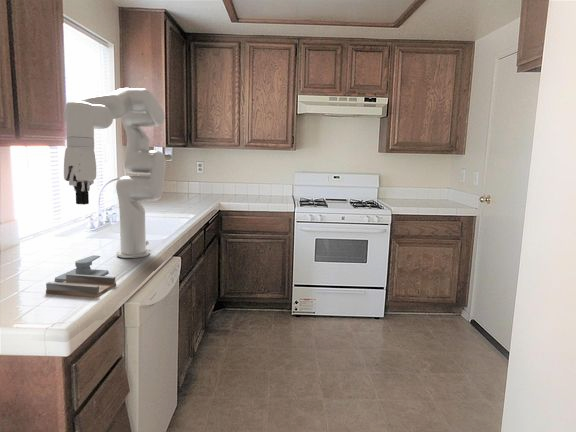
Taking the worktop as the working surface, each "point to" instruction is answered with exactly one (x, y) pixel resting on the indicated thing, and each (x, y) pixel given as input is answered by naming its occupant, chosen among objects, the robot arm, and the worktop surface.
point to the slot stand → (81, 285)
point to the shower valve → (83, 269)
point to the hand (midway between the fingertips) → (82, 203)
